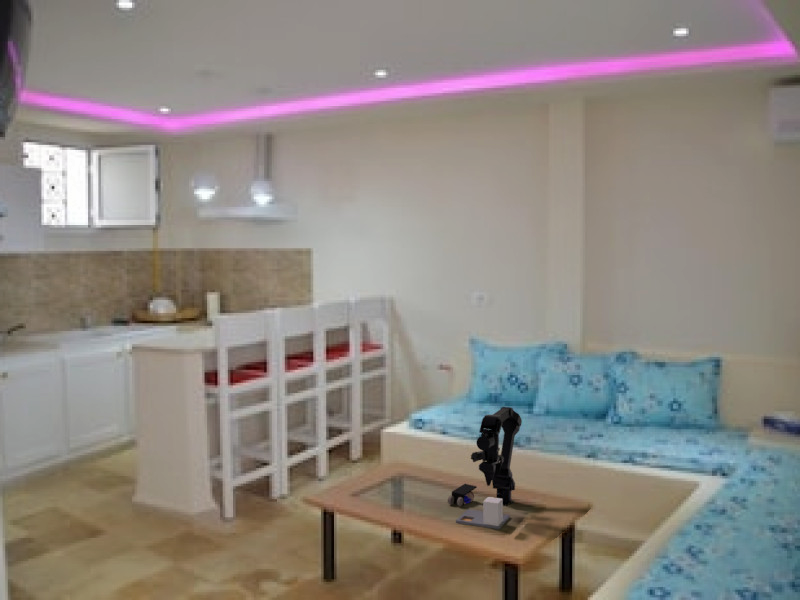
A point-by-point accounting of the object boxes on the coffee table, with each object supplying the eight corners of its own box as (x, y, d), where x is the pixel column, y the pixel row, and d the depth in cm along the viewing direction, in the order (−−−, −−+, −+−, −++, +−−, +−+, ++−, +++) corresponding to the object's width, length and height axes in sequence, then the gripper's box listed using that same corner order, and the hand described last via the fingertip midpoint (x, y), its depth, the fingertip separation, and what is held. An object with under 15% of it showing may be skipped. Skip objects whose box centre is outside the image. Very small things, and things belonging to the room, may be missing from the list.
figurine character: (461, 514, 301) (478, 500, 313) (460, 497, 300) (477, 484, 312) (447, 512, 305) (464, 498, 317) (446, 495, 304) (463, 481, 316)
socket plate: (468, 515, 296) (468, 509, 296) (509, 521, 288) (509, 515, 288) (455, 526, 283) (455, 520, 283) (499, 533, 276) (499, 526, 276)
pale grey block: (488, 524, 284) (488, 496, 284) (502, 526, 282) (502, 498, 281) (483, 529, 279) (483, 501, 278) (498, 531, 276) (497, 503, 276)
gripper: (478, 439, 309) (478, 475, 309) (467, 448, 291) (466, 486, 291) (504, 441, 304) (503, 478, 305) (493, 451, 287) (492, 489, 287)
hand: (491, 482), depth 297 cm, fingers open, 9 cm apart
